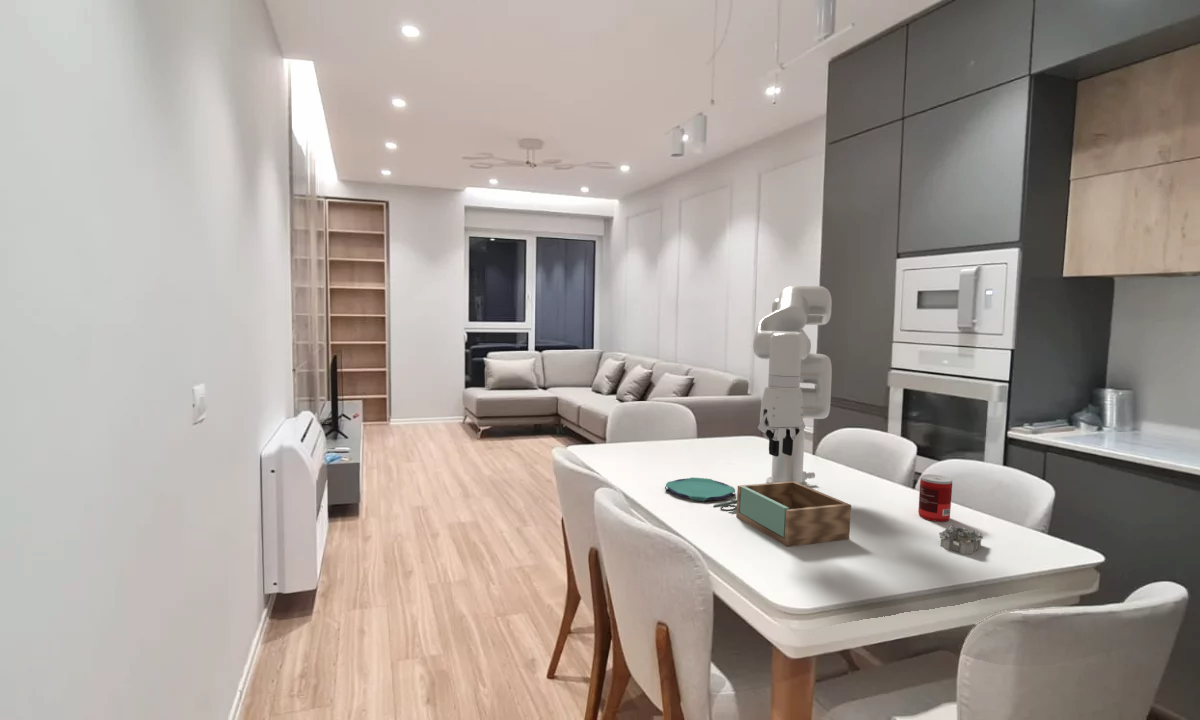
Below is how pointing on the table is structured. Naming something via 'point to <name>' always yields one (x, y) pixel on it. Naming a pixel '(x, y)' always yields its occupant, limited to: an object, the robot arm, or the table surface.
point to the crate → (803, 514)
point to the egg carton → (960, 540)
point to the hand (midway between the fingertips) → (780, 454)
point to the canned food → (935, 497)
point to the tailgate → (763, 510)
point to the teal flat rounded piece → (702, 490)
